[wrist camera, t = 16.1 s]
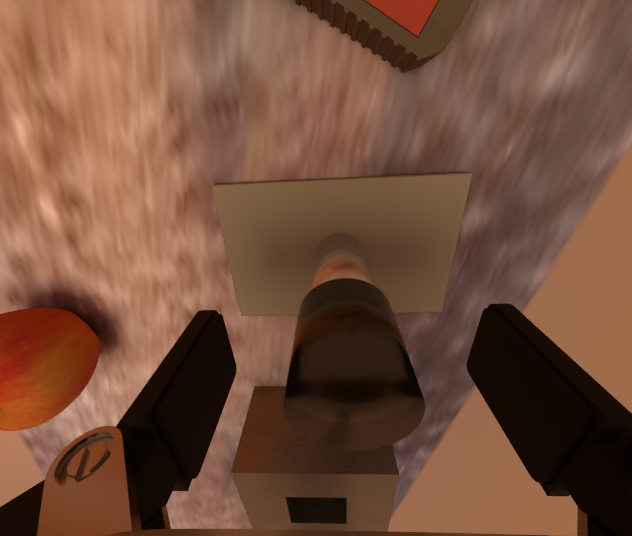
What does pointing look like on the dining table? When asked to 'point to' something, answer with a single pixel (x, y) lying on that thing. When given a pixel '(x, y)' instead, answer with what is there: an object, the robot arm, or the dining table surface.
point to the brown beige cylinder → (349, 358)
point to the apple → (42, 364)
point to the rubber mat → (342, 217)
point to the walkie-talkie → (395, 25)
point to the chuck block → (308, 476)
